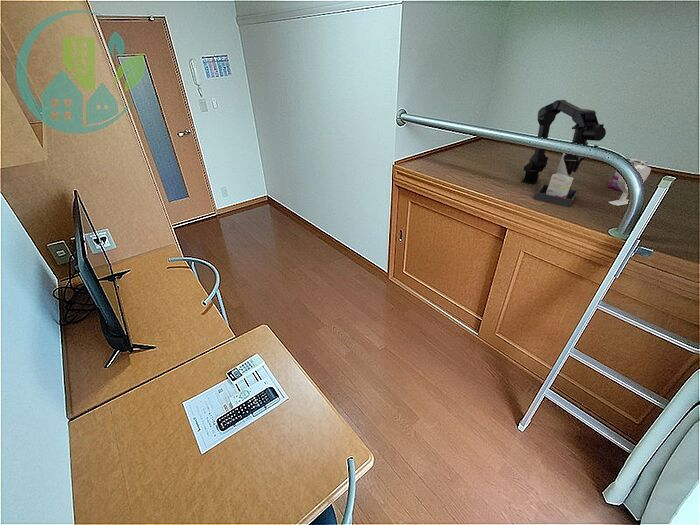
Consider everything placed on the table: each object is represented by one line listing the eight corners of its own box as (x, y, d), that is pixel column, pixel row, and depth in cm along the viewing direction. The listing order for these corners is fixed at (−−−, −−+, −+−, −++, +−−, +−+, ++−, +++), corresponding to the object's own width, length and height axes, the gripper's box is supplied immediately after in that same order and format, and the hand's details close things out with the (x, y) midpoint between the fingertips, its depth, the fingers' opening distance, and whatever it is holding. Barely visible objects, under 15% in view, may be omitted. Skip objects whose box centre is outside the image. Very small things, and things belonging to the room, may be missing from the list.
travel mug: (554, 176, 195) (566, 141, 184) (566, 177, 193) (579, 143, 182) (553, 179, 191) (565, 144, 180) (566, 180, 188) (579, 145, 177)
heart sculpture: (626, 198, 166) (644, 163, 156) (636, 201, 162) (655, 166, 152) (605, 202, 161) (621, 166, 151) (615, 206, 157) (632, 169, 147)
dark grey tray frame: (534, 199, 166) (536, 192, 164) (541, 190, 176) (544, 184, 174) (569, 206, 157) (572, 200, 155) (575, 196, 168) (577, 190, 166)
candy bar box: (635, 192, 172) (650, 161, 163) (628, 193, 171) (644, 162, 161) (614, 185, 181) (628, 156, 172) (608, 187, 179) (621, 157, 170)
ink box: (565, 200, 164) (574, 177, 158) (559, 201, 163) (568, 179, 156) (550, 194, 171) (558, 172, 164) (544, 196, 169) (552, 174, 163)
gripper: (596, 141, 141) (586, 177, 147) (604, 138, 152) (595, 172, 159) (566, 141, 148) (559, 175, 154) (577, 138, 160) (569, 170, 166)
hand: (571, 173), depth 158 cm, fingers open, 9 cm apart
